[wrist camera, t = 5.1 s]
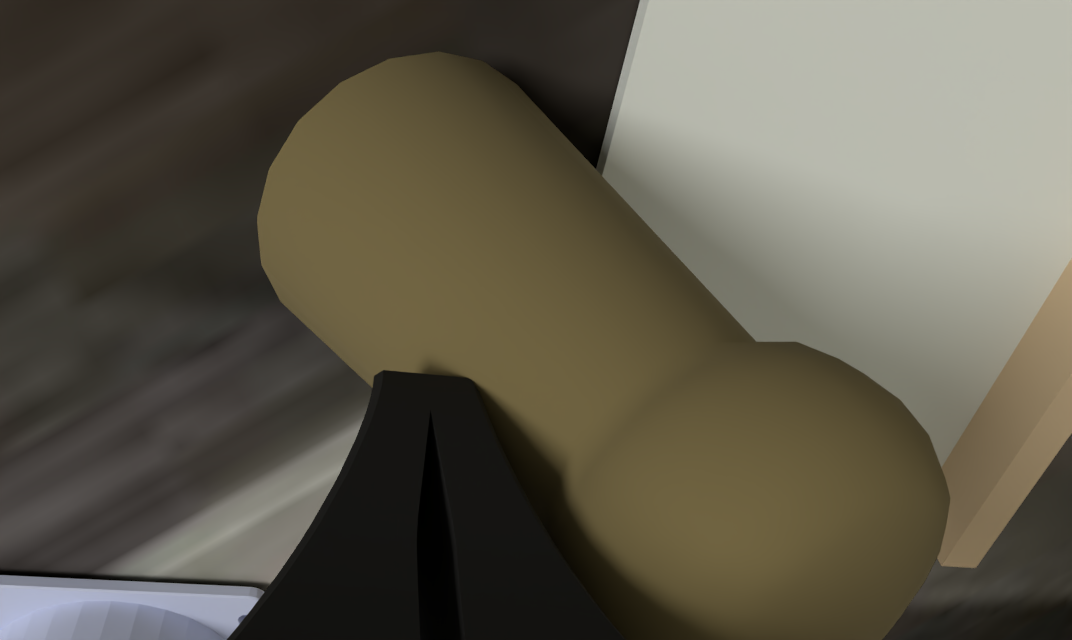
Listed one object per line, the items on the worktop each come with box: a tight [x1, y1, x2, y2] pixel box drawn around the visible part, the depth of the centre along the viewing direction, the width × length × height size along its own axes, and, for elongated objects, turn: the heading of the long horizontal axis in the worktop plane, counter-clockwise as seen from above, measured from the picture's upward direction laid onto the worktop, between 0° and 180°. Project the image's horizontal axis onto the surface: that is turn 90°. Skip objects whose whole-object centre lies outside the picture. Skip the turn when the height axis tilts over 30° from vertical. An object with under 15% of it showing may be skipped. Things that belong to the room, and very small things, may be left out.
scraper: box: [596, 0, 1072, 568], centre depth 20 cm, size 16×12×2 cm
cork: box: [257, 52, 951, 640], centre depth 15 cm, size 6×6×11 cm
